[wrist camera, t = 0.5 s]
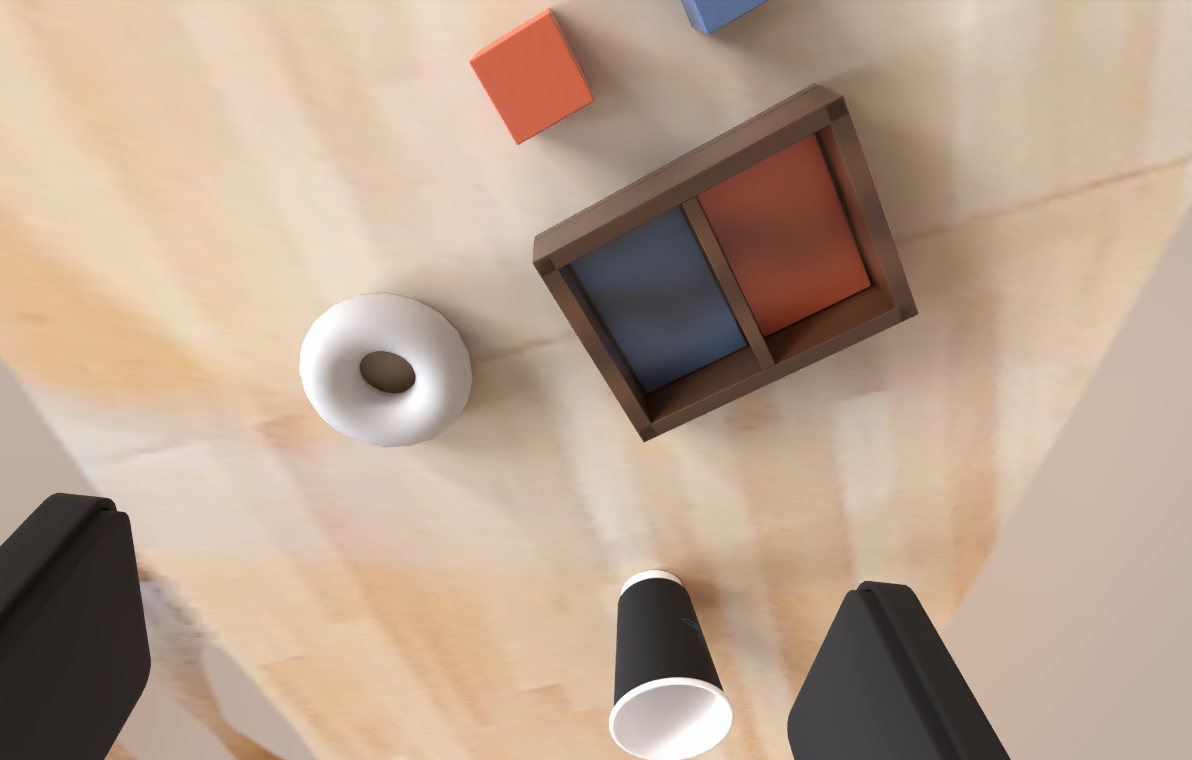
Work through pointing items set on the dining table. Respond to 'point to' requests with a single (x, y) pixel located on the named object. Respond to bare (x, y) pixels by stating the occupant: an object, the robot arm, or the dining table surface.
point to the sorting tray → (730, 264)
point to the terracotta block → (532, 77)
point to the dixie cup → (665, 674)
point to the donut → (396, 330)
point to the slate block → (716, 12)
